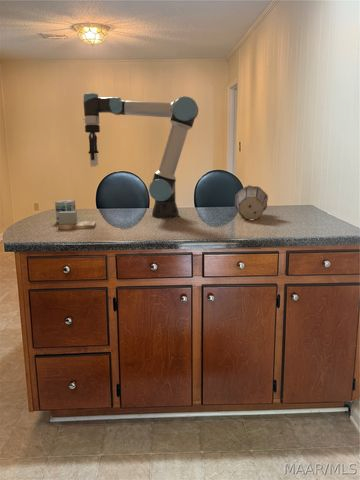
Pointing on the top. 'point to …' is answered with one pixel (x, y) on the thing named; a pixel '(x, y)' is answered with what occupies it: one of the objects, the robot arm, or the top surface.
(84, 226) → the board
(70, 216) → the block
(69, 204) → the light bulb box
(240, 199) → the faceted geometric planter
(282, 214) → the top surface
